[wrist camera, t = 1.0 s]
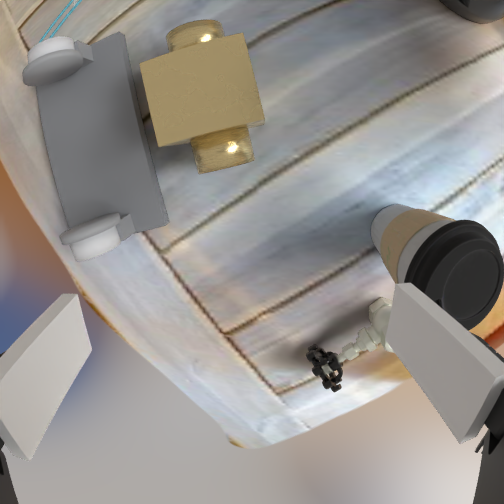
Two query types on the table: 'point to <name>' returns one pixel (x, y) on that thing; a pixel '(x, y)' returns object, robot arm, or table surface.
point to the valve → (353, 346)
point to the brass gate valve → (204, 95)
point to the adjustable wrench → (63, 19)
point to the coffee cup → (441, 259)
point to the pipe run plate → (95, 142)
